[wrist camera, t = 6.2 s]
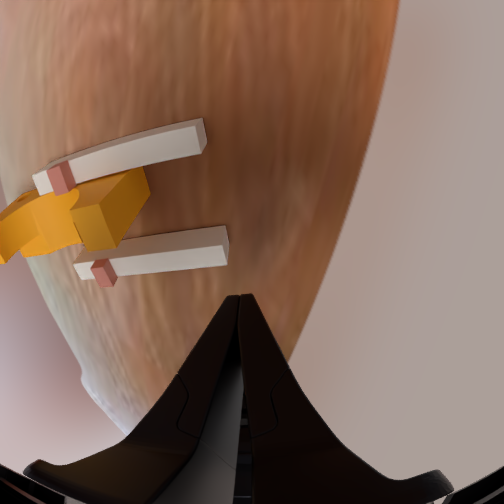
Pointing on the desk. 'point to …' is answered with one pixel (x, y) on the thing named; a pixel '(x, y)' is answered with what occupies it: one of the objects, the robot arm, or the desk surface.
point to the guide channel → (149, 247)
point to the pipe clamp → (74, 215)
